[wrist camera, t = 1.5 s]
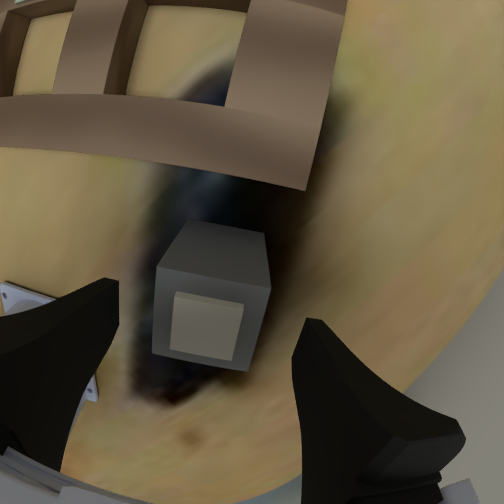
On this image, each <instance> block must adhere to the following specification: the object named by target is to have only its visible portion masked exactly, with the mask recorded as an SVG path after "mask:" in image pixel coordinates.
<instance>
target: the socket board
mask: <svg viewBox="0 0 504 504" xmlns="http://www.w3.org/2000/svg"><path fill="white" fill-rule="evenodd" d="M148 5H179V6H196V7H208V8H218V9H226V10H234V11H241V12H247V17H246V20H245V24H244V28H243V32H242V35H241V39H240V43H239V47H238V51H237V55H236V59H235V63H234V68H233V72H232V76H231V80H230V85H229V89H228V93H227V98H226V102H225V107H221V106H215V105H209V104H203V103H196V102H188V101H180V100H172V99H163V98H153V97H141V96H128V95H125V91H126V87H127V82H128V77H129V73H130V69H131V64H132V60H133V56H134V52H135V49H136V45H137V41H138V38H139V34H140V31H141V27H142V24H143V21H144V17H145V14H146V11H147V8H148ZM346 5H347V0H0V147H15V148H32V149H46V150H58V151H69V152H80V153H89V154H98V155H107V156H115V157H123V158H130V159H138V160H145V161H152V162H158V163H165V164H171V165H177V166H184V167H189V168H195V169H201V170H207V171H212V172H218V173H223V174H228V175H233V176H238V177H243V178H248V179H253V180H258V181H263V182H267V183H272V184H277V185H281V186H286V187H290V188H294V189H299V190H303V191H305V190H306V186H307V182H308V178H309V174H310V170H311V166H312V162H313V158H314V154H315V150H316V145H317V141H318V137H319V133H320V128H321V124H322V120H323V116H324V111H325V107H326V102H327V98H328V93H329V89H330V84H331V80H332V75H333V70H334V66H335V61H336V56H337V51H338V46H339V41H340V36H341V31H342V26H343V21H344V16H345V11H346ZM68 11H73V14H72V17H71V20H70V23H69V26H68V29H67V33H66V36H65V40H64V43H63V47H62V51H61V55H60V59H59V63H58V67H57V72H56V76H55V81H54V86H53V91H52V94H40V95H22V96H12V91H13V86H14V81H15V76H16V71H17V67H18V62H19V58H20V54H21V50H22V46H23V43H24V39H25V36H26V32H27V29H28V26H29V23H30V20H31V19H32V18H37V17H41V16H46V15H51V14H56V13H62V12H68Z"/></svg>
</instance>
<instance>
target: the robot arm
mask: <svg viewBox="0 0 504 504" xmlns="http://www.w3.org/2000/svg"><path fill="white" fill-rule="evenodd" d="M0 292H1V297H2V302H3V306H4V311H5V314H4V315H3V316H1V317H0V504H153V503H148V502H144V501H141V500H137V499H133V498H129V497H126V496H123V495H119V494H116V493H113V492H110V491H107V490H104V489H101V488H98V487H95V486H92V485H90V484H87V483H84V482H82V481H79V480H76V479H74V478H72V477H69V476H67V475H64V474H62V473H60V469H61V464H62V459H63V455H64V451H65V447H66V443H67V440H68V437H69V434H70V432H71V430H72V428H73V426H74V424H75V422H76V419H77V417H78V415H79V413H80V411H81V409H82V407H83V405H84V403H85V401H86V400H89V401H92V402H96V401H97V400H98V392H97V387H96V381H95V376H94V373H95V371H96V369H97V368H98V366H99V364H100V363H101V361H102V359H103V357H104V356H105V354H106V352H107V350H108V349H109V347H110V345H111V343H112V341H113V338H114V336H115V334H116V331H117V329H118V326H119V281H117V280H113V279H109V278H102V279H100V280H97V281H95V282H93V283H91V284H89V285H86V286H84V287H82V288H80V289H78V290H76V291H74V292H72V293H70V294H68V295H65V296H63V297H61V298H58V299H54V298H51V297H48V296H45V295H42V294H38V293H35V292H33V291H30V290H27V289H24V288H21V287H18V286H15V285H12V284H10V283H7V282H3V283H1V284H0ZM292 381H293V388H294V394H295V399H296V405H297V411H298V416H299V422H300V429H301V441H302V496H301V504H480V502H479V500H478V497H477V495H476V492H475V490H474V488H473V485H472V483H471V481H470V479H465V480H462V481H459V482H456V483H453V484H450V485H447V486H445V487H443V488H441V489H439V486H438V482H440V481H441V479H442V477H441V474H440V472H439V471H440V470H442V469H443V468H444V467H445V466H446V465H447V464H448V463H449V462H450V461H451V460H452V459H453V458H454V457H455V456H456V455H457V454H458V453H459V452H460V451H461V449H462V448H463V446H464V444H465V441H466V437H465V435H464V433H463V431H462V429H461V427H460V425H459V423H458V422H457V420H456V419H454V418H451V417H448V416H446V415H443V414H441V413H438V412H436V411H433V410H431V409H429V408H427V407H425V406H423V405H421V404H419V403H417V402H415V401H413V400H412V399H410V398H408V397H407V396H405V395H404V394H402V393H400V392H399V391H397V390H396V389H394V388H393V387H391V386H390V385H389V384H387V383H386V382H385V381H383V380H382V379H381V378H380V377H378V376H377V375H376V374H375V373H373V372H372V371H371V370H370V369H369V368H368V367H367V366H366V365H365V364H364V363H362V362H361V361H360V360H359V359H358V358H357V357H356V356H355V355H354V354H353V353H352V352H351V351H350V350H349V349H348V347H347V346H346V345H345V344H344V343H343V342H342V341H341V340H340V339H339V338H338V337H337V336H336V334H335V333H334V332H333V331H332V330H331V329H330V328H329V327H328V326H327V325H326V324H325V323H324V322H323V321H322V320H320V319H313V318H306V320H305V323H304V326H303V329H302V331H301V334H300V337H299V339H298V342H297V345H296V347H295V350H294V353H293V355H292Z"/></svg>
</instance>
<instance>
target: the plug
mask: <svg viewBox="0 0 504 504" xmlns="http://www.w3.org/2000/svg"><path fill="white" fill-rule="evenodd" d="M270 291H271V282H270V275H269V267H268V259H267V252H266V244H265V237H264V233H260V232H255V231H250V230H245V229H240V228H235V227H230V226H225V225H220V224H215V223H209V222H204V221H199V220H194V219H188V220H187V221H186V223H185V224H184V226H183V227H182V229H181V230H180V232H179V233H178V235H177V236H176V238H175V239H174V241H173V242H172V244H171V245H170V247H169V248H168V250H167V251H166V253H165V254H164V256H163V257H162V259H161V260H160V262H159V264H158V265H157V269H156V281H155V295H154V312H153V333H152V353H153V354H158V355H162V356H166V357H171V358H176V359H180V360H185V361H190V362H195V363H200V364H206V365H211V366H217V367H222V368H228V369H235V370H241V371H248V369H249V366H250V362H251V359H252V356H253V352H254V349H255V345H256V342H257V338H258V335H259V331H260V327H261V324H262V320H263V317H264V313H265V310H266V306H267V302H268V299H269V295H270Z"/></svg>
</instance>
